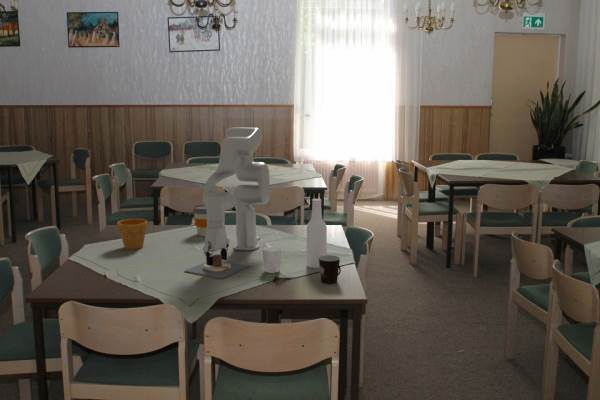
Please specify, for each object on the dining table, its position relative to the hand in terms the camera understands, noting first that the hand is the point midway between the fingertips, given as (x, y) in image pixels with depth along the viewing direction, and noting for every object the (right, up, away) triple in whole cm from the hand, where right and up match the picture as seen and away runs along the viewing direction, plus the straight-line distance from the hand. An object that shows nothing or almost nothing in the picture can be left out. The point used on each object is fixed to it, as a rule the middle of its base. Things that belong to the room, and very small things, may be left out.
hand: (217, 262), depth 270 cm
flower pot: (-46, +3, +38) cm, 60 cm away
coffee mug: (+48, -7, -18) cm, 52 cm away
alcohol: (+43, -2, +5) cm, 44 cm away
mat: (0, -3, +1) cm, 3 cm away
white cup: (+24, -4, -2) cm, 24 cm away
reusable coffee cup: (-14, +9, +64) cm, 66 cm away
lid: (0, -3, 0) cm, 2 cm away
